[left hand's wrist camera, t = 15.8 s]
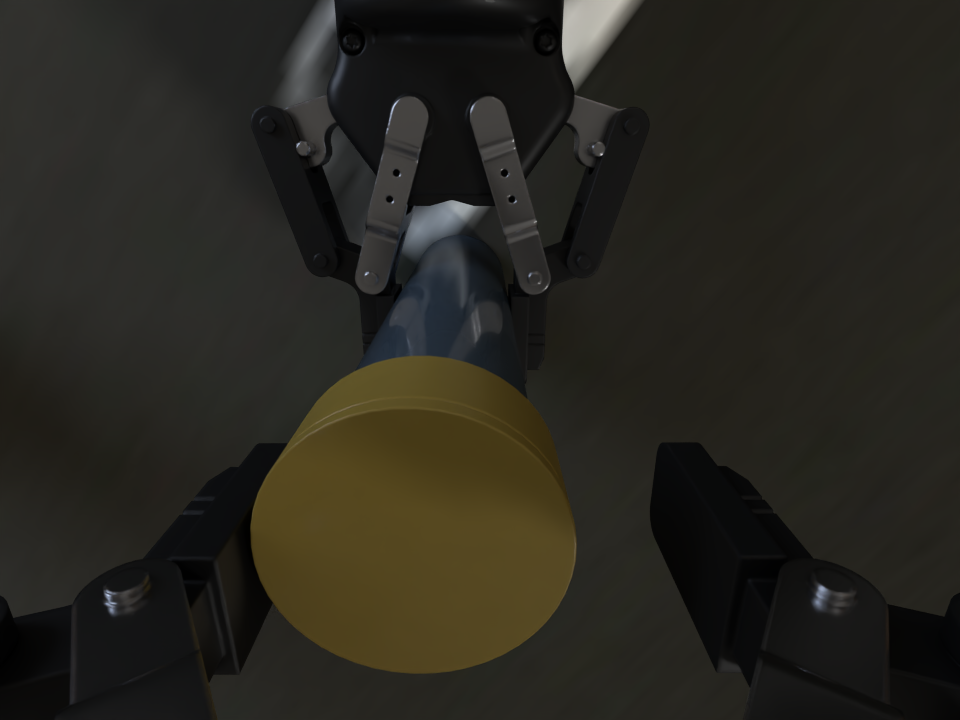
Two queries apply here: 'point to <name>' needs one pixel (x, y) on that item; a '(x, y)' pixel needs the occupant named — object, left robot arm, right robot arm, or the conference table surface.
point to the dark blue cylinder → (453, 312)
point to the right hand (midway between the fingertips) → (455, 374)
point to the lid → (416, 519)
